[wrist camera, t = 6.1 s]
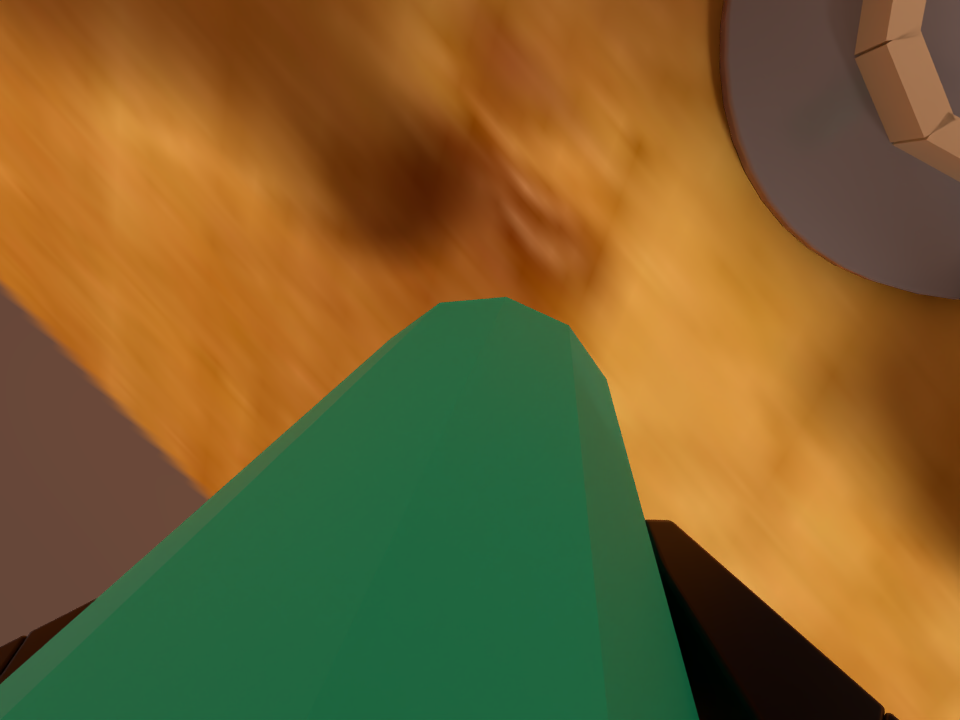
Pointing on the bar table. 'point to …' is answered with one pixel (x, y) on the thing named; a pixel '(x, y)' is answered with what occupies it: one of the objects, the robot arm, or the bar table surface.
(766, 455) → the bar table surface
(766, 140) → the candle holder
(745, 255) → the bar table surface
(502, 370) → the candle
